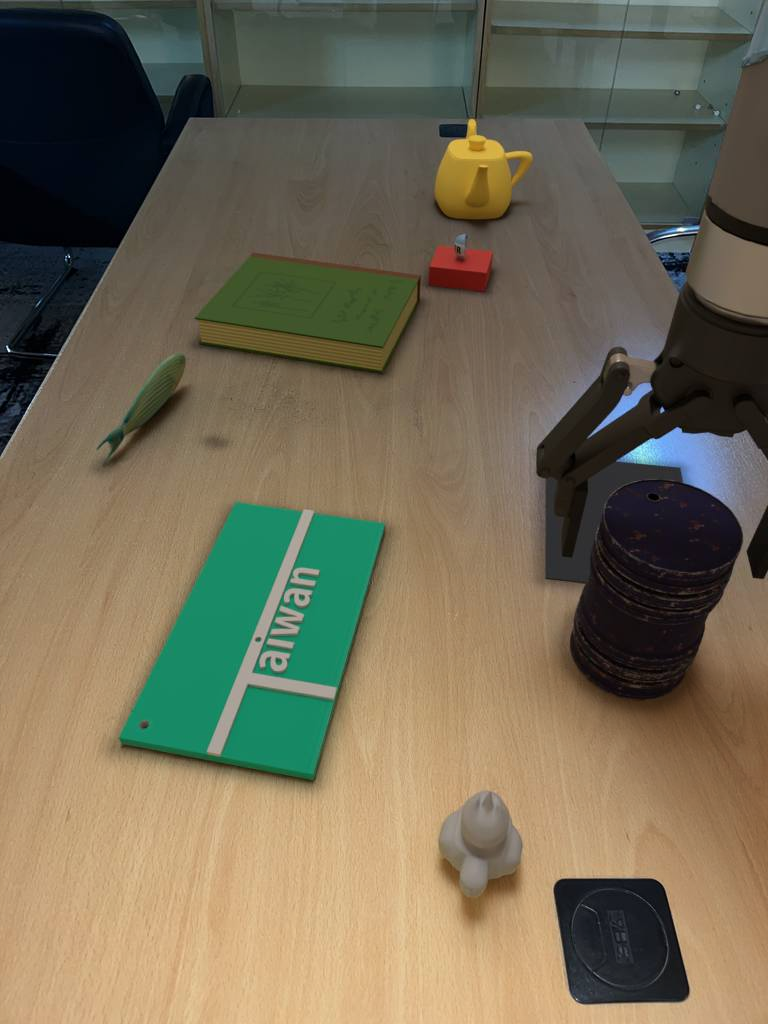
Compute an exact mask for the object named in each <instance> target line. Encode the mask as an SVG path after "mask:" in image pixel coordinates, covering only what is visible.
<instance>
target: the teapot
mask: <svg viewBox="0 0 768 1024" xmlns="http://www.w3.org/2000/svg"><path fill="white" fill-rule="evenodd" d="M533 158H534V157H533V155H532V153H531V152H530V151H525V150H517V151H516V150H515V151H510V152H506V151H505V149H504V147H503V146H502V145H501V143H500V142H498V141H497V140H494V139H487V138H486V137H485V136H483V135H479V134H478V133H477V121H476V120H475V119H474V118H470V119H469V120H468V121H467V130H466V136H465V138H463V139H462V138H461V139H454V140H452V141H451V142H450V143H449V144H448V146H447V148H446V150H445V152H444V154H443V157H442V159H441V162H440V164H439V167H438V169H437V172H436V177H435V182H434V192H433V193H434V197H435V200H436V203H437V205H438V207H439V208H440V210H441V212H442V213H443V214H444V215H445V216H446V217H448V218H452V219H456V220H457V219H458V220H492V219H498V218H500V217H502V216H503V215H504V214H505V212H506V211H507V209H508V207H509V206H510V203H511V201H512V194H513V188H514V187H515V185H517V183H519V181H521V179H522V178H523V177H524V176H525V174H526V173H528V171H529V169H530V168H531V165H532V163H533V160H534V159H533ZM509 160H520V164H519V166H518V168H517V170H516V172H515V174H514V175H513V177H512V174H511V169H510V164H509Z"/></svg>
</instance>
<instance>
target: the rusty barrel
mask: <svg viewBox="0 0 768 1024" xmlns="http://www.w3.org/2000/svg"><path fill="white" fill-rule="evenodd" d="M743 544H744V532H743V528H742V525H741V523H740V521H739V518H738V517H737V516H736V514H735V513H734V512H733V510H731V509H730V507H728V505H727V504H725V503H724V502H723V501H722V500H720V499H719V498H718V497H716V496H714V495H713V494H711V493H710V492H708V491H706V490H705V489H702V488H699V487H697V486H694V485H692V484H689V483H686V482H684V481H683V482H678V481H673V480H666V479H645V480H639V481H634V482H631V483H628V484H625V485H623V486H622V487H620V488H618V489H617V490H616V491H614V492H613V493H612V494H611V495H610V497H609V498H608V499H607V501H606V503H605V506H604V510H603V514H602V518H601V521H600V524H599V526H598V529H597V531H596V535H595V539H594V544H593V547H592V550H591V554H590V571H591V572H590V575H589V579H588V582H587V583H584V584H585V585H583V588H582V590H581V593H580V596H579V600H578V602H577V605H576V607H575V612H574V616H573V626H572V630H571V632H570V638H569V651H570V655H571V658H572V660H573V663H574V665H575V666H576V667H577V670H578V671H579V672H580V673H581V674H582V676H583V677H584V678H585V679H586V680H587V681H588V682H590V684H592V685H593V686H595V687H597V688H598V689H600V690H602V691H603V692H605V693H607V694H609V695H611V696H614V697H617V698H621V699H624V700H629V701H653V700H657V699H661V698H663V697H666V696H667V695H670V694H671V693H672V692H674V691H675V690H677V689H678V687H680V685H681V684H682V683H683V681H684V679H685V678H686V675H687V674H688V673H687V672H688V671H689V670H688V669H689V668H690V666H692V664H693V662H694V661H695V659H696V656H697V654H698V652H699V649H700V646H701V644H702V641H703V638H704V635H705V632H706V622H707V620H708V617H709V615H710V613H711V612H713V610H714V609H715V608H716V607H717V605H718V604H719V603H720V602H721V599H722V598H723V596H724V593H725V589H726V588H727V586H728V584H729V582H730V579H731V577H732V575H733V570H734V567H735V564H736V561H737V559H738V557H739V556H740V554H741V553H740V552H741V551H742V548H743Z"/></svg>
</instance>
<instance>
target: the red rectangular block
mask: <svg viewBox="0 0 768 1024" xmlns="http://www.w3.org/2000/svg"><path fill="white" fill-rule="evenodd" d="M493 256H494V251H491V250H483V249H482V250H481V249H473V248H468V234H467V233H463V234H459V235H458V236H457V237H456V239H455V241H454V246H446V245H438V246H437V248H436V250H435V252H434V255H433V258H432V259H431V261H430V264H429V269H428V286H433V287H441V288H450V289H459V290H468V291H476V292H485V291H486V288H487V285H488V282H489V279H490V275H491V272H492V269H493V258H494V257H493Z"/></svg>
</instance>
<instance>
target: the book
mask: <svg viewBox="0 0 768 1024" xmlns="http://www.w3.org/2000/svg"><path fill="white" fill-rule="evenodd" d="M421 280H422V279H421V275H420V274H415V273H405V272H399V271H392V270H384V269H377V268H369V267H362V266H357V265H356V266H355V265H347V264H341V263H333V262H326V261H318V260H312V259H304V258H298V257H297V258H295V257H289V256H281V255H274V254H267V253H260V252H252V253H251V254H250V255H249V256H248V257H247V258H246V259H245V261H244V262H243V263H242V264H241V265H240V266H239V267H238V268H237V269H236V271H234V273H232V275H231V276H230V277H229V278H228V280H226V282H225V283H224V284H223V285H222V286H221V288H220V289H218V291H217V292H216V293H214V295H213V296H212V297H211V299H210V300H209V301H208V302H207V303H206V304H205V305H204V307H202V309H201V310H200V311H199V312H198V313H197V314H196V315H195V316H194V320H197V322H198V328H199V334H200V340H199V342H198V344H199V345H202V346H203V345H204V346H209V347H216V348H222V349H228V350H229V349H230V350H235V351H242V352H246V353H254V354H260V355H266V356H273V357H278V358H285V359H289V360H290V359H291V360H297V361H303V362H309V363H314V364H321V365H327V366H333V367H340V368H345V369H352V370H358V371H365V372H370V373H376V374H384V372H385V370H386V368H387V366H388V365H389V362H390V360H391V358H392V356H393V354H394V352H395V350H396V349H397V347H398V344H399V342H400V340H401V338H402V337H403V334H404V333H405V330H406V329H407V326H408V325H409V323H410V320H411V319H412V317H413V315H414V313H415V311H416V309H417V307H418V305H419V303H420V299H421Z"/></svg>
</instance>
